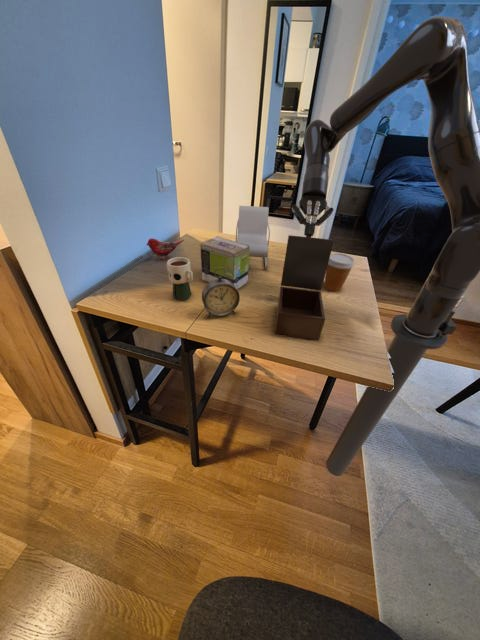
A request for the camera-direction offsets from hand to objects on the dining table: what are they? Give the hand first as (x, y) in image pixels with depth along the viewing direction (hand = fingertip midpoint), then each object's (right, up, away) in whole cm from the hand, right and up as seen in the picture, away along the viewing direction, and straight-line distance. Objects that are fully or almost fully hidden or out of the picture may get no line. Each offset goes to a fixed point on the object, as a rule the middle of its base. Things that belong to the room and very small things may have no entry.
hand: (308, 236), depth 79 cm
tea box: (-27, -11, +20) cm, 35 cm away
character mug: (-41, -17, +11) cm, 46 cm away
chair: (-16, +2, +38) cm, 41 cm away
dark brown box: (-3, -26, +2) cm, 26 cm away
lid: (-1, -9, -2) cm, 9 cm away
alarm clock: (-27, -24, +4) cm, 36 cm away
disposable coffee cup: (+14, -13, +20) cm, 28 cm away
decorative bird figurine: (-52, +2, +34) cm, 63 cm away
